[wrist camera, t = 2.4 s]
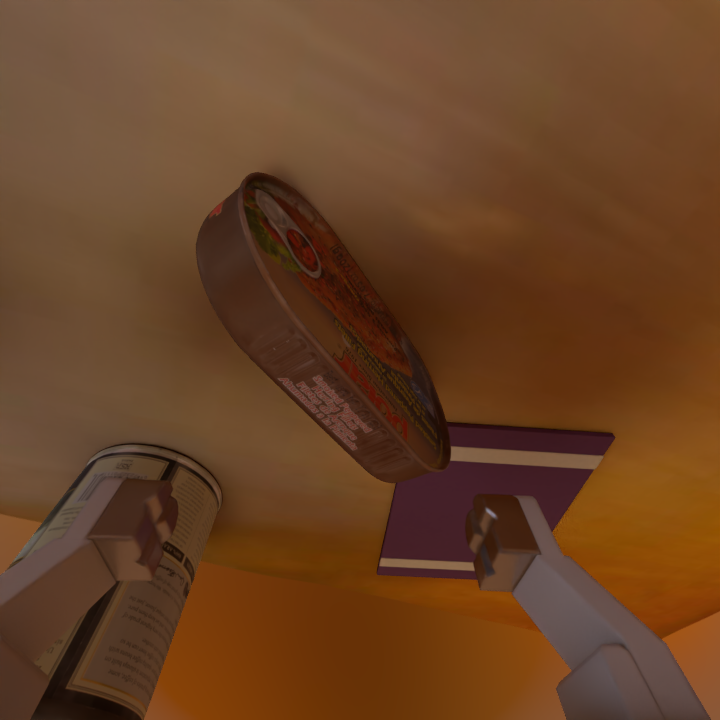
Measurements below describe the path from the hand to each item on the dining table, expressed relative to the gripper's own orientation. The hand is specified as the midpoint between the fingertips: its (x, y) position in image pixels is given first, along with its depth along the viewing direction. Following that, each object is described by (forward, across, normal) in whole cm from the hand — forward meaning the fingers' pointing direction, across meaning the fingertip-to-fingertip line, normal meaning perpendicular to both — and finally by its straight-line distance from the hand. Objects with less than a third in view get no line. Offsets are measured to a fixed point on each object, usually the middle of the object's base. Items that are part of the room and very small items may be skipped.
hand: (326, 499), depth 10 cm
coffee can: (+12, +13, +17) cm, 25 cm away
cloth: (+12, -12, +18) cm, 24 cm away
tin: (+12, -1, 0) cm, 12 cm away
